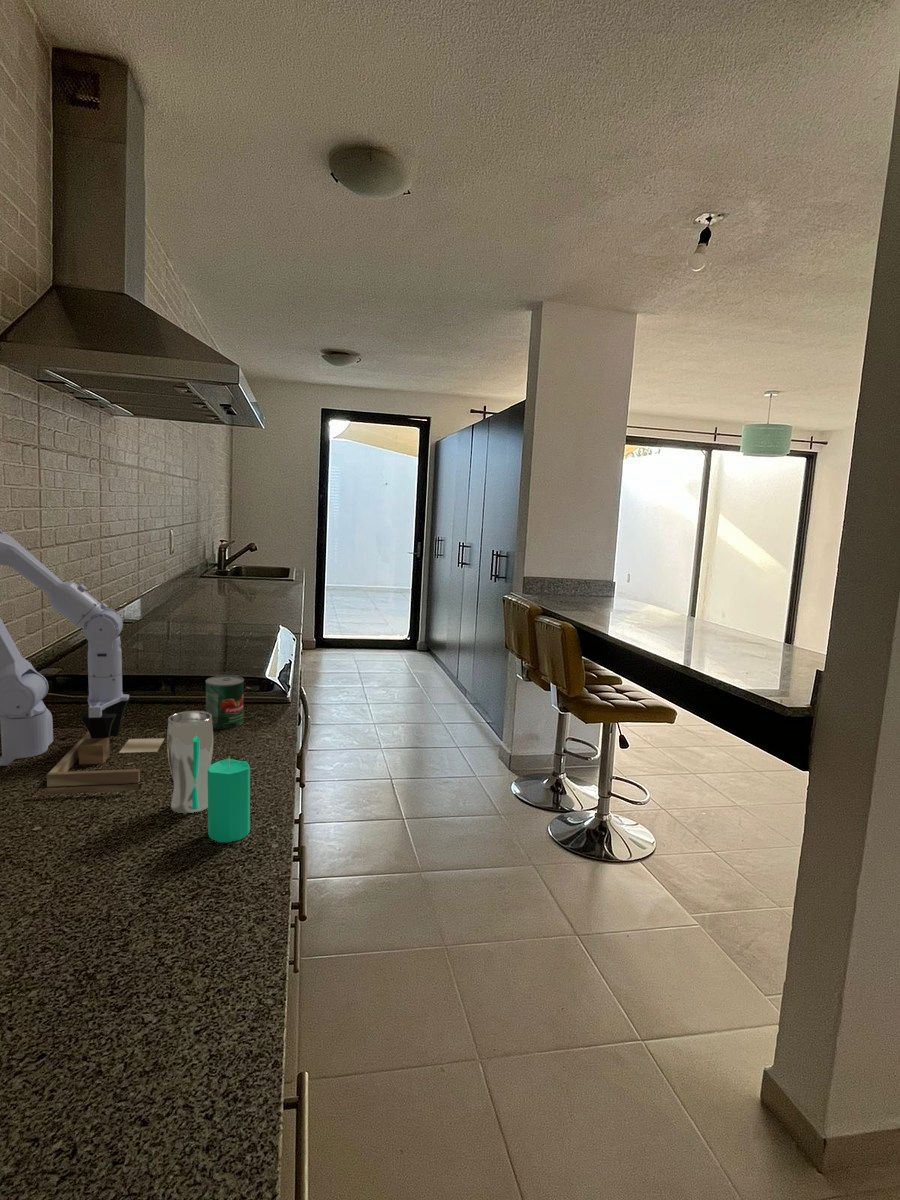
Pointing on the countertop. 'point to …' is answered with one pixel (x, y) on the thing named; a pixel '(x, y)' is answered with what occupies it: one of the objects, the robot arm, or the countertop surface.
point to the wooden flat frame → (64, 778)
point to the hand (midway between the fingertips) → (107, 742)
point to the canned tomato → (225, 701)
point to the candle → (228, 800)
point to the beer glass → (190, 759)
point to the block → (94, 751)
